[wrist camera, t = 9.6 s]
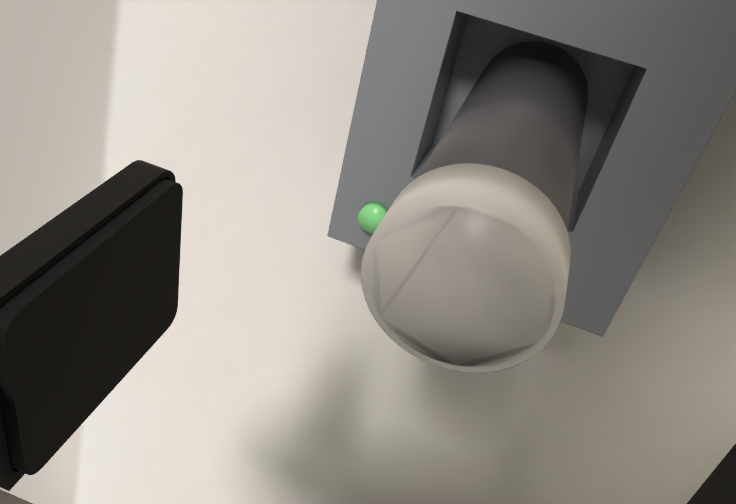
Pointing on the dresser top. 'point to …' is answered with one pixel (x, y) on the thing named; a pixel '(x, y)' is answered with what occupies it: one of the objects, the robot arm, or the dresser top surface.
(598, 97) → the port
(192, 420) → the dresser top surface
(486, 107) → the grey and white cylinder
